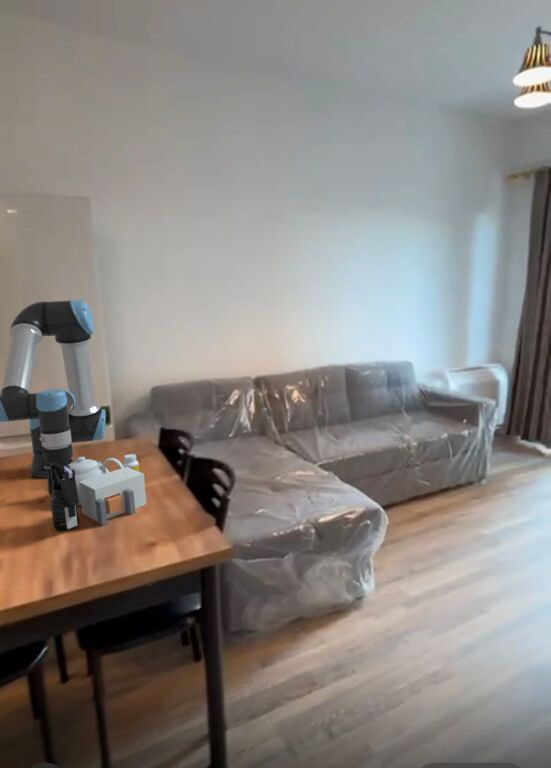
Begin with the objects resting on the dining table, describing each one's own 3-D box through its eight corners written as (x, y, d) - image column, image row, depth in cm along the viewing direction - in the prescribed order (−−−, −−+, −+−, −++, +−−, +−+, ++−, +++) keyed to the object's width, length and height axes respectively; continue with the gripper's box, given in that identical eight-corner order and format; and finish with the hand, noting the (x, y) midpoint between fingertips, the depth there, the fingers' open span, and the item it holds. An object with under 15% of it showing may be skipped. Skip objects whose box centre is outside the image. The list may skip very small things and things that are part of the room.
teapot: (72, 514, 146) (67, 471, 144) (46, 498, 159) (41, 459, 156) (127, 494, 160) (124, 455, 157) (100, 481, 172) (96, 444, 170)
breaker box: (81, 513, 147) (78, 481, 145) (129, 496, 158) (126, 466, 157) (102, 525, 138) (99, 492, 136) (151, 506, 150) (149, 475, 148)
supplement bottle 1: (58, 521, 142) (53, 482, 139) (82, 520, 142) (78, 481, 140) (50, 532, 135) (44, 492, 133) (75, 531, 135) (70, 490, 133)
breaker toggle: (97, 507, 146) (96, 494, 145) (110, 502, 149) (108, 490, 148) (110, 514, 141) (109, 501, 140) (122, 509, 144) (121, 496, 143)
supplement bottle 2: (142, 479, 172) (140, 453, 171) (136, 485, 167) (134, 458, 165) (128, 479, 173) (125, 453, 171) (121, 485, 168) (119, 458, 166)
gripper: (29, 442, 138) (38, 517, 142) (58, 456, 125) (68, 538, 129) (55, 436, 144) (64, 509, 148) (86, 448, 130) (95, 528, 134)
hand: (66, 522), depth 138 cm, fingers closed on supplement bottle 1, 7 cm apart
